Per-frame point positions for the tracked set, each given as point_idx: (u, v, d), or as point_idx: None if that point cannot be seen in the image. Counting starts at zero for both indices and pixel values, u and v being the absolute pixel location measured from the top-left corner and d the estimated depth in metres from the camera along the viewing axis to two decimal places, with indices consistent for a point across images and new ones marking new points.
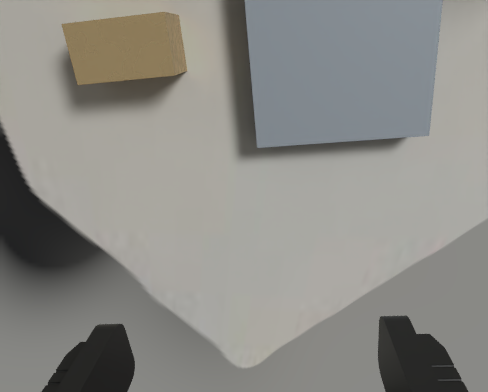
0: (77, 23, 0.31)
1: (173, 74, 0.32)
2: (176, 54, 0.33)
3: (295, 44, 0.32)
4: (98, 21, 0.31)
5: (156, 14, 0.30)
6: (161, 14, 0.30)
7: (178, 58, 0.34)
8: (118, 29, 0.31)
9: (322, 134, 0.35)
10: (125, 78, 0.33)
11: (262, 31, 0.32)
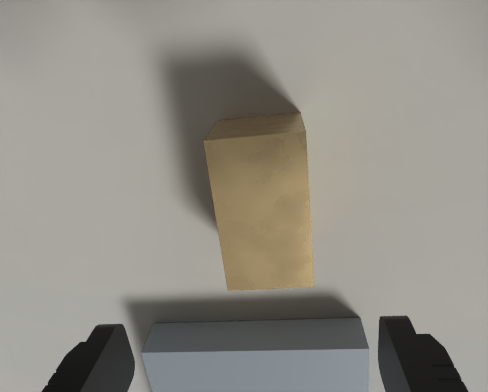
0: (305, 159, 0.18)
1: (229, 289, 0.22)
2: None
3: None
4: (306, 194, 0.19)
5: (311, 277, 0.21)
6: (311, 283, 0.21)
7: None
8: (293, 222, 0.19)
9: None
10: (219, 222, 0.20)
11: (285, 364, 0.26)
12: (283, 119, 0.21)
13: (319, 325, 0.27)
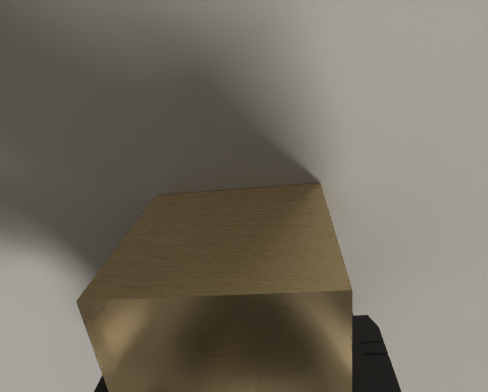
0: (346, 352, 0.07)
1: None
2: None
3: None
4: None
5: None
6: None
7: None
8: None
9: None
10: None
11: None
12: (286, 211, 0.09)
13: None
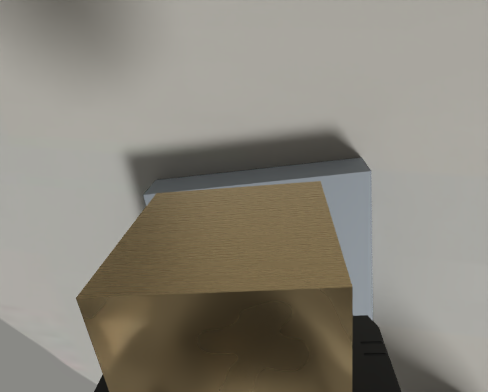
0: (347, 349, 0.07)
1: None
2: None
3: None
4: None
5: None
6: None
7: None
8: None
9: None
10: None
11: None
12: (286, 209, 0.09)
13: (321, 165, 0.27)
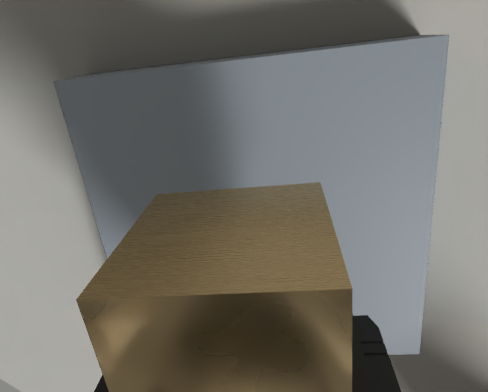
0: (346, 351, 0.07)
1: None
2: None
3: (272, 155, 0.16)
4: None
5: None
6: None
7: None
8: None
9: (110, 212, 0.18)
10: None
11: (298, 87, 0.15)
12: (286, 210, 0.09)
13: (354, 43, 0.16)
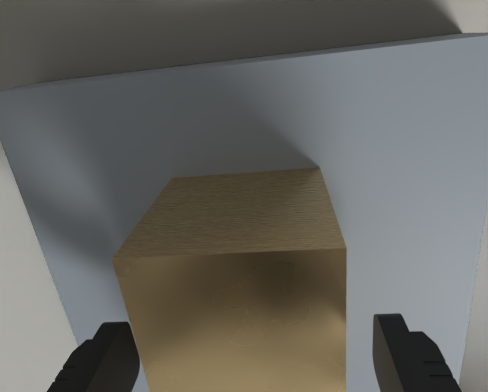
0: (342, 303, 0.08)
1: None
2: None
3: None
4: (340, 367, 0.09)
5: None
6: None
7: None
8: None
9: (66, 257, 0.14)
10: None
11: (306, 102, 0.11)
12: (290, 190, 0.11)
13: (377, 44, 0.13)
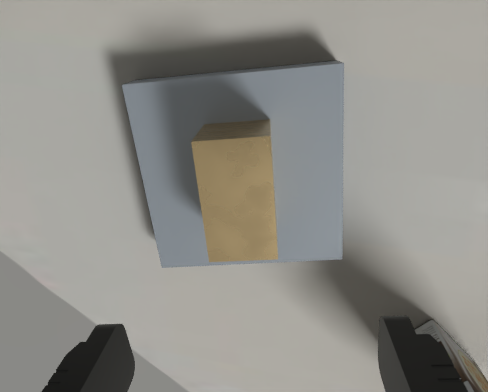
0: (270, 157, 0.23)
1: (210, 260, 0.27)
2: None
3: None
4: (271, 185, 0.24)
5: (275, 251, 0.26)
6: (275, 256, 0.26)
7: None
8: (261, 207, 0.25)
9: (150, 165, 0.29)
10: (203, 206, 0.25)
11: (263, 90, 0.27)
12: (255, 125, 0.26)
13: (297, 65, 0.28)
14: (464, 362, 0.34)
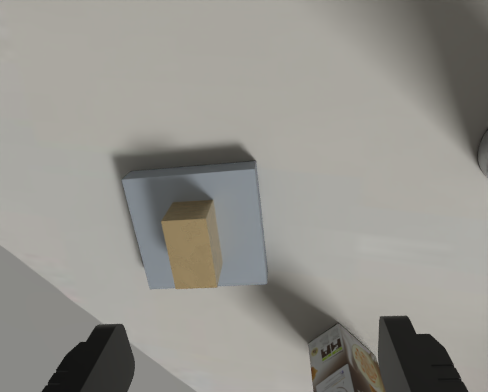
0: (207, 230, 0.40)
1: (176, 288, 0.44)
2: None
3: None
4: (209, 245, 0.41)
5: (215, 282, 0.43)
6: (215, 285, 0.43)
7: None
8: (204, 257, 0.42)
9: (140, 225, 0.46)
10: (170, 256, 0.42)
11: (207, 183, 0.43)
12: (202, 206, 0.43)
13: (230, 164, 0.45)
14: (354, 352, 0.51)
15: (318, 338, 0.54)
